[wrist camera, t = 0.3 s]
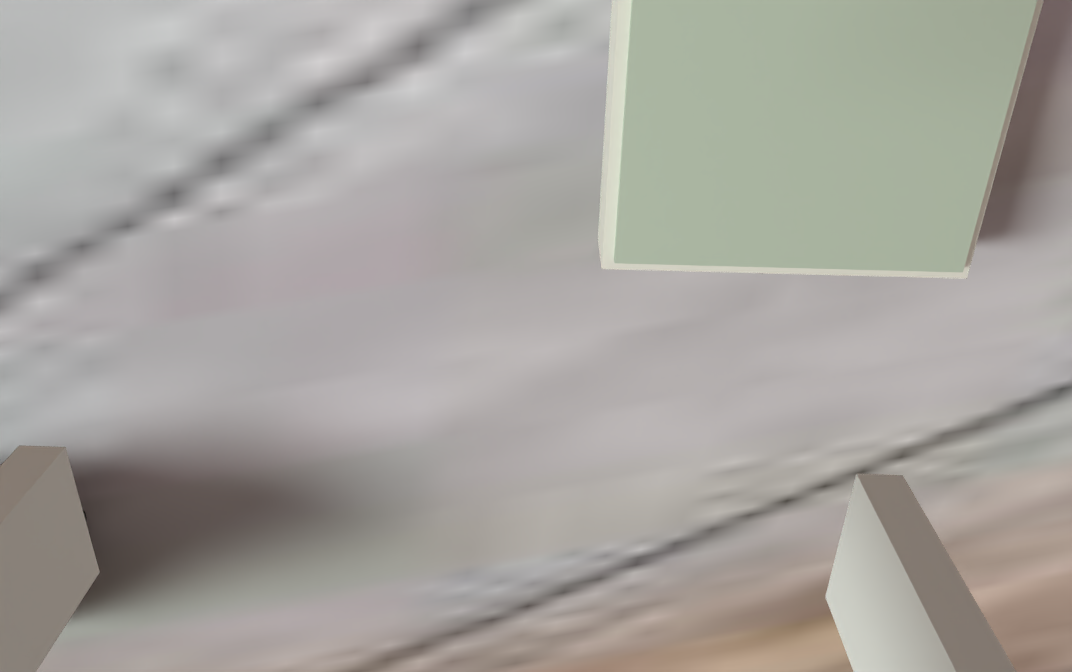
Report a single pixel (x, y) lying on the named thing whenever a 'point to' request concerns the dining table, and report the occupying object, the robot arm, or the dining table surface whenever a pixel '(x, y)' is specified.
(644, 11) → the plinth
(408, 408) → the dining table surface
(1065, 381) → the dining table surface
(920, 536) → the robot arm
